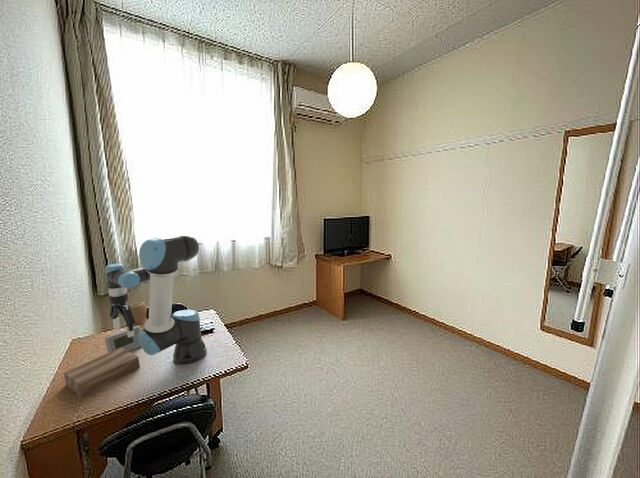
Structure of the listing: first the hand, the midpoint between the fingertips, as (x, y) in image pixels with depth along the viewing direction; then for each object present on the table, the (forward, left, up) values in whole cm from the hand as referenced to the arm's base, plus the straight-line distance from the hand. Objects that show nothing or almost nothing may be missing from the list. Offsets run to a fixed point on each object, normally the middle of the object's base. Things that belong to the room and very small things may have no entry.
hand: (124, 333), depth 145 cm
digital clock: (-1, 0, -10) cm, 10 cm away
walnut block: (-14, +16, -10) cm, 24 cm away
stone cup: (+21, -17, -10) cm, 28 cm away
